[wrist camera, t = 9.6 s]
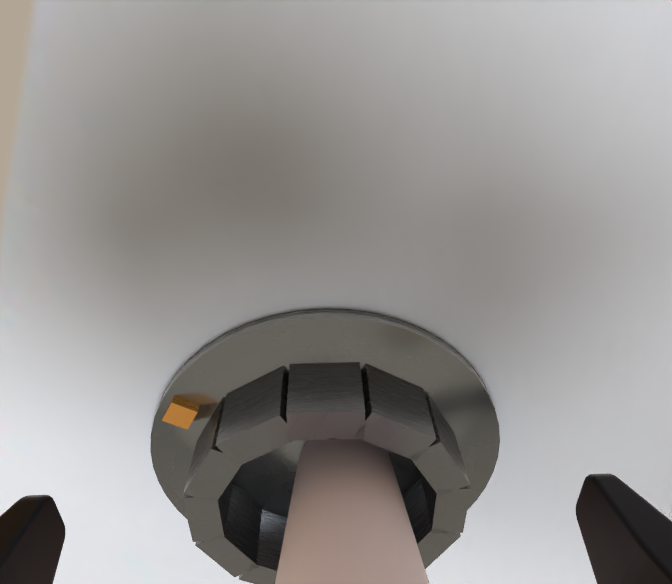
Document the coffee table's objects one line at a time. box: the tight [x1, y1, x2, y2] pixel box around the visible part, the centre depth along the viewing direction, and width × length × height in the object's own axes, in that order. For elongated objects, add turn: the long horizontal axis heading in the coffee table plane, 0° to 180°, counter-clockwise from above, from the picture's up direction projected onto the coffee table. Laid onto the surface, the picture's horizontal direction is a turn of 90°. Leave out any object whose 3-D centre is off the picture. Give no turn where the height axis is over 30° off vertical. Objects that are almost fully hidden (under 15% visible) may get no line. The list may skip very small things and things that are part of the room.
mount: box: [151, 309, 500, 584], centre depth 21 cm, size 14×14×3 cm
